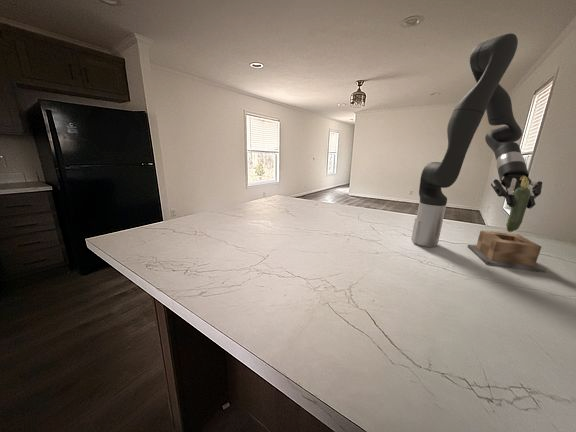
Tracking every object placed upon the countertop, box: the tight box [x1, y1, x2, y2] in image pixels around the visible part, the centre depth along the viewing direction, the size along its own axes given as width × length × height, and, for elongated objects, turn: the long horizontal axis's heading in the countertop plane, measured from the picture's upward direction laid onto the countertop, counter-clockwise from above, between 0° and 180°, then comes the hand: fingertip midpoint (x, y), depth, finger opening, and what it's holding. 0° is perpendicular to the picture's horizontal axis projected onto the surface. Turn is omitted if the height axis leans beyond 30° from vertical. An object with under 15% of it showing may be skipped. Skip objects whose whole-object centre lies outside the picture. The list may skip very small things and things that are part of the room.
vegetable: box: [506, 176, 530, 233], centre depth 78 cm, size 4×4×20 cm
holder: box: [467, 230, 547, 274], centre depth 82 cm, size 16×16×8 cm
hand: (521, 206), depth 76 cm, fingers closed on vegetable, 4 cm apart
